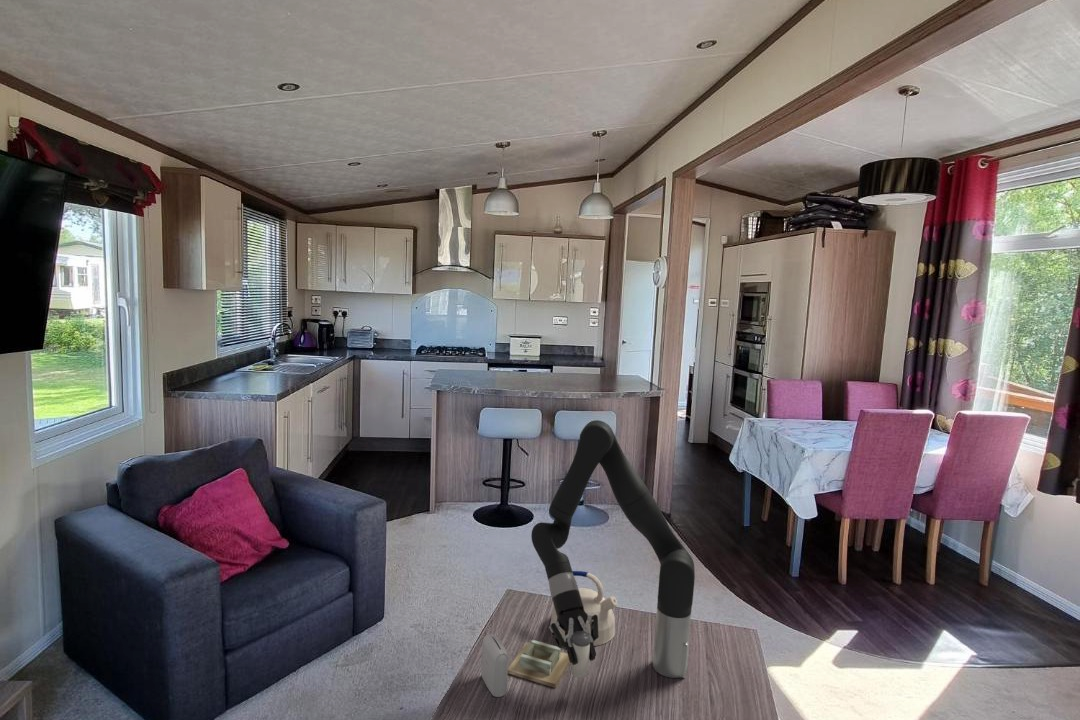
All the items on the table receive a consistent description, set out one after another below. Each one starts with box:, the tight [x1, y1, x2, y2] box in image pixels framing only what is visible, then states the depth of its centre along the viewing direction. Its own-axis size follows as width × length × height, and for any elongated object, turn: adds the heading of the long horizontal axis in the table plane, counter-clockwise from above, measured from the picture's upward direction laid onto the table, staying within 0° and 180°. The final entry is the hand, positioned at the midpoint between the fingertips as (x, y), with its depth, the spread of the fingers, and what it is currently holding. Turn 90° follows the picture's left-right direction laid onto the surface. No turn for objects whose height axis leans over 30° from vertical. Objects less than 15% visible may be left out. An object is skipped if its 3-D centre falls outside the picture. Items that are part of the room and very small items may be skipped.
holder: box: [507, 639, 571, 689], centre depth 161 cm, size 14×14×4 cm
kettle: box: [549, 570, 618, 647], centre depth 180 cm, size 20×21×18 cm
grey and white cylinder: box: [570, 631, 590, 679], centre depth 149 cm, size 4×4×10 cm
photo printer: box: [480, 633, 509, 698], centre depth 152 cm, size 10×4×12 cm, turn 26°
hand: (584, 661), depth 147 cm, fingers closed on grey and white cylinder, 4 cm apart
